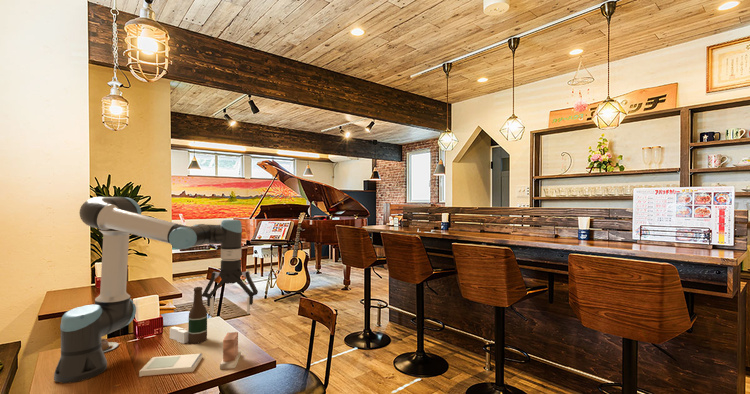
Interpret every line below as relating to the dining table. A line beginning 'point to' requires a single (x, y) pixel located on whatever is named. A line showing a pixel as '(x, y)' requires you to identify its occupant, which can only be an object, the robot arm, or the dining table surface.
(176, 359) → the white flat block
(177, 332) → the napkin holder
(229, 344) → the stub
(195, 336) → the beer bottle
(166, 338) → the dining table surface
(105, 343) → the pastry
